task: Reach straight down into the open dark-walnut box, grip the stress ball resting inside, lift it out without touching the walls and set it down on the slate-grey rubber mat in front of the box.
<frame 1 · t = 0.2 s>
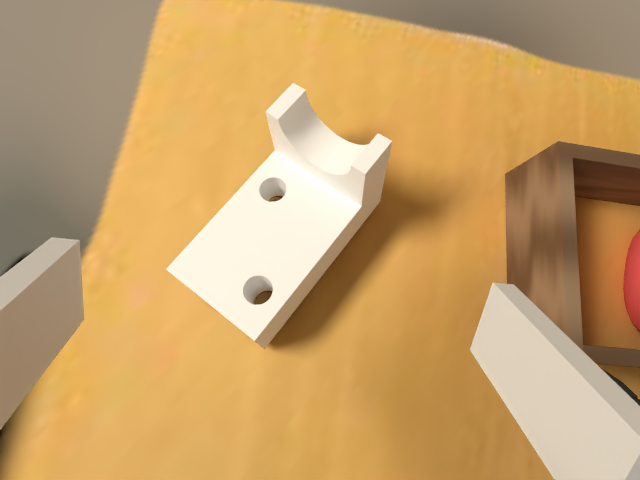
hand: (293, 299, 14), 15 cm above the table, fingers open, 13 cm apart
walnut box: (639, 276, 34), on the table
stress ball: (636, 277, 35), on the table
bracket: (274, 234, 31), on the table
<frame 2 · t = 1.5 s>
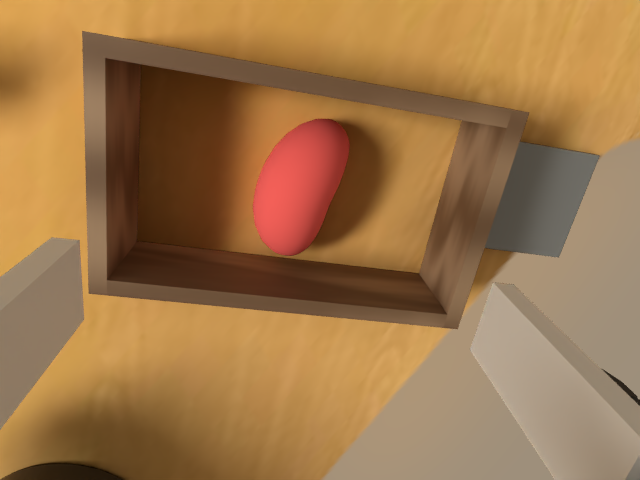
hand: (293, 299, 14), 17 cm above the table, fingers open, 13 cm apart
walnut box: (297, 179, 30), on the table
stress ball: (297, 178, 30), on the table
slate mat: (525, 199, 32), on the table
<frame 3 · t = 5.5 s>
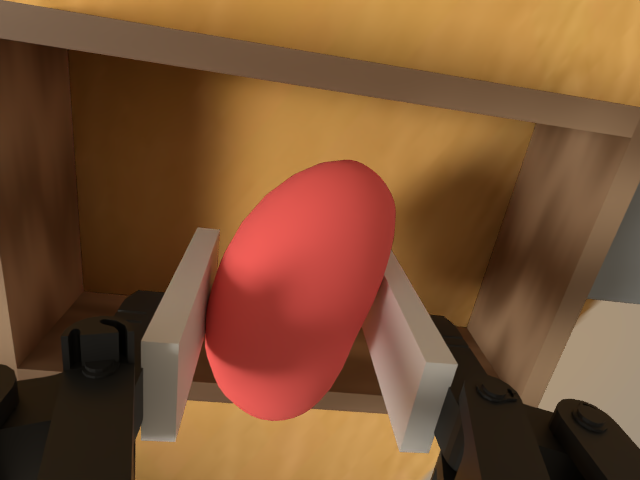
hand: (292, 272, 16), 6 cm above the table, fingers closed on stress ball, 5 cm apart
walnut box: (300, 207, 21), on the table
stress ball: (294, 264, 16), point 6 cm above the table, touching gripper
slate mat: (619, 229, 23), on the table
when the fingers open (1 cm above the table, at t = 10.0 s): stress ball stays where it is, resting on slate mat.
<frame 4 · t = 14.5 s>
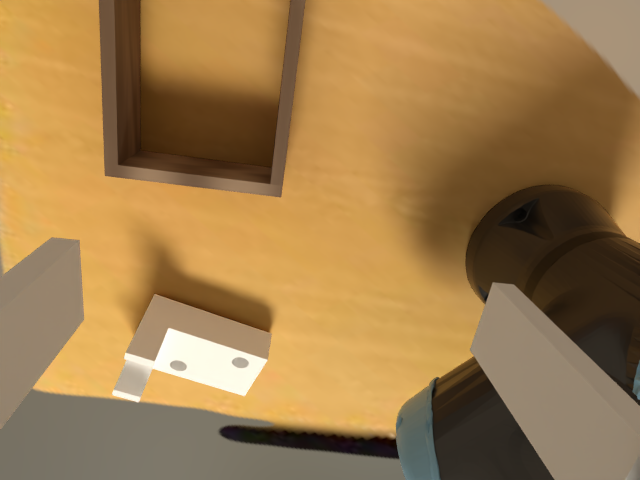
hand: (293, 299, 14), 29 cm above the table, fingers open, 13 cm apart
walnut box: (214, 36, 36), on the table
bracket: (202, 340, 48), on the table
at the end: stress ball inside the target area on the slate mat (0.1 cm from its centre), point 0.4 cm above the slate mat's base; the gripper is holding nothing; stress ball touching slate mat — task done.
